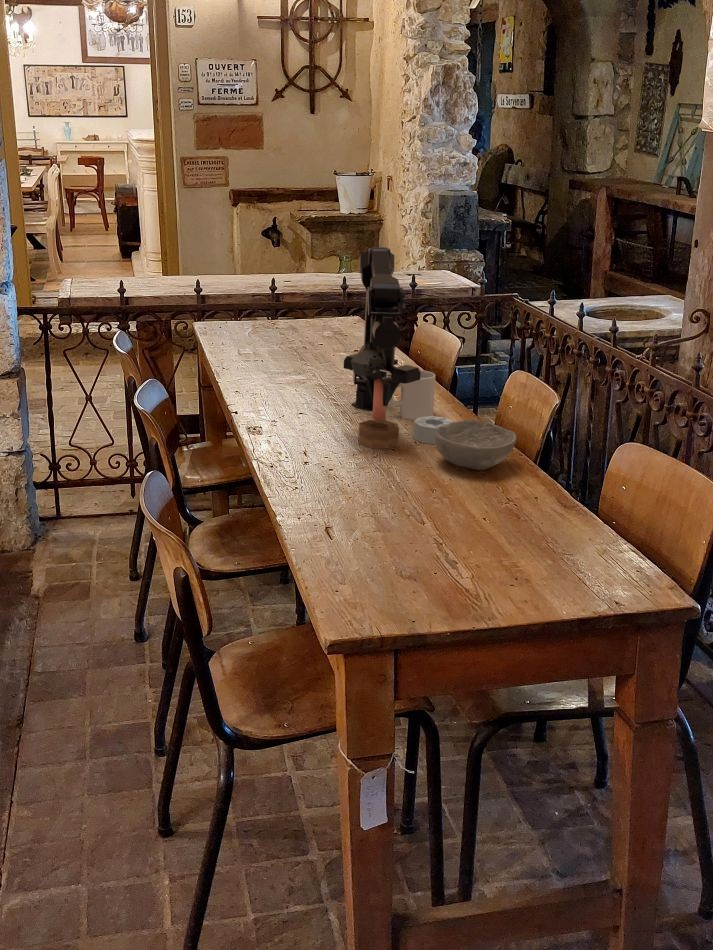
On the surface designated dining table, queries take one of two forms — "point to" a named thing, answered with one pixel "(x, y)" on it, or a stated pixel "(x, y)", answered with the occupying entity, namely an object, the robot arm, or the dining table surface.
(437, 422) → the slate bead
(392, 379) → the robot arm
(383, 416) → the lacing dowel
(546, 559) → the dining table surface
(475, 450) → the bowl
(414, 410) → the mug
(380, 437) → the walnut bead
